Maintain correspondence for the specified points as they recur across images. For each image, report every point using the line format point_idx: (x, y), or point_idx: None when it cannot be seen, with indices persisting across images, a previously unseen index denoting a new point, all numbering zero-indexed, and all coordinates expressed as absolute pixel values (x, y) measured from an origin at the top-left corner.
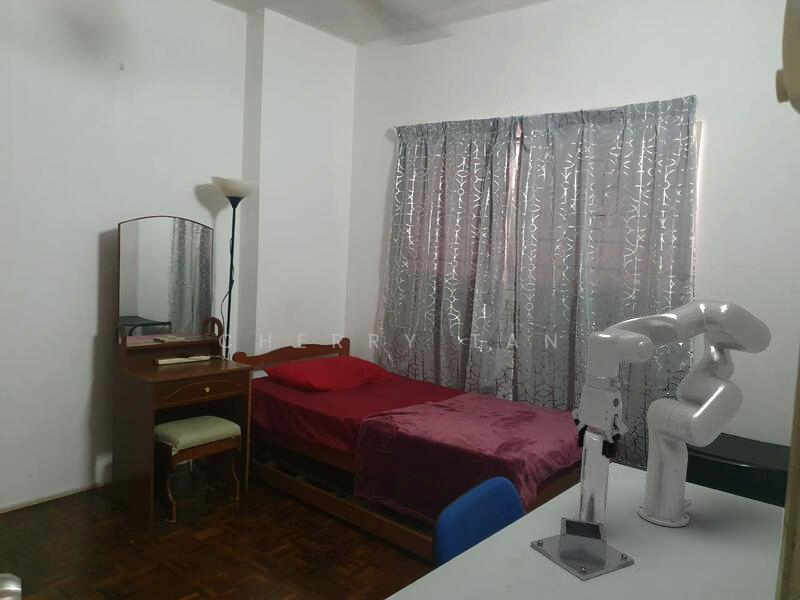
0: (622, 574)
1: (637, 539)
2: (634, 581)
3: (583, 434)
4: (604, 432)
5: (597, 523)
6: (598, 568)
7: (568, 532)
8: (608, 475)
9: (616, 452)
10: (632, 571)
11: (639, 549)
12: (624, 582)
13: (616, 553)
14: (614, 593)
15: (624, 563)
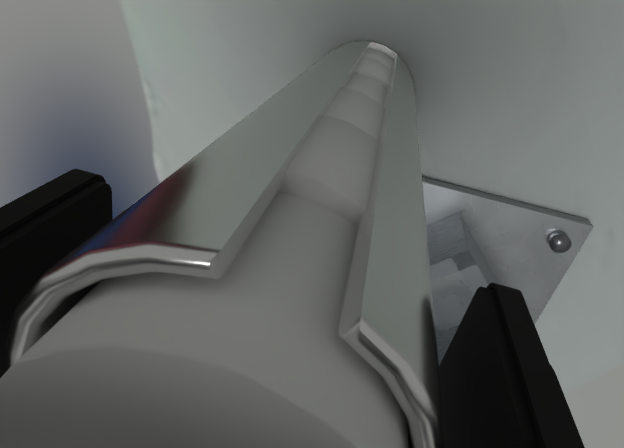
0: (571, 299)
1: (549, 10)
2: (614, 310)
3: (5, 356)
4: (245, 436)
5: (448, 264)
6: None
7: None
8: (418, 160)
9: (555, 377)
10: (595, 265)
11: (580, 97)
12: (588, 331)
13: (525, 232)
14: (578, 387)
15: (567, 266)
